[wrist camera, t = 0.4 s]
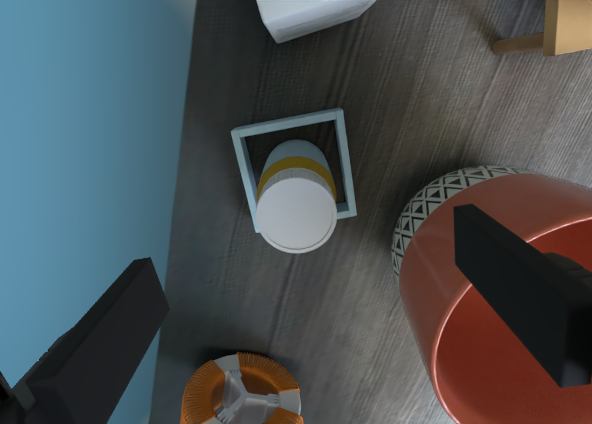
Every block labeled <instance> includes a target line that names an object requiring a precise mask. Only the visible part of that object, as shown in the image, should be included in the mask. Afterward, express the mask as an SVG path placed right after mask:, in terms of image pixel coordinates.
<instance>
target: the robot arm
mask: <svg viewBox="0 0 592 424" xmlns="http://www.w3.org/2000/svg"><path fill="white" fill-rule="evenodd" d="M453 211H454V248H455V265H456V266H457V267H458V268H459V270H460V271H461V272H462V273H463V274H464V275H465V277H466V278H467V279H468V280H469V281H470V283H471V284H472V285H473V286H474V287H475V288H476V290H477V291H478V292H479V293H480V294H481V295H482V297H483V298H484V299H485V300H486V301H487V303H488V304H489V305H490V306H491V307H492V308H493V310H494V311H495V312H496V313H497V314H498V315H499V317H500V318H501V319H502V320H503V321H504V322H505V324H506V325H507V326H508V327H509V328H510V330H511V331H512V332H513V333H514V334H515V335H516V337H517V338H518V339H519V340H520V341H521V342H522V344H523V345H524V346H525V347H526V348H527V349H528V351H529V352H530V353H531V354H532V355H533V357H534V358H535V359H536V360H537V361H538V362H539V364H540V365H541V366H542V367H543V368H544V369H545V371H546V372H547V373H548V374H549V375H550V376H551V378H552V379H553V380H554V381H555V382H556V384H557V385H558V386H559V387H560V388H565V387H573V386H581V385H588V384H591V377H592V272H590V271H589V270H587V269H584V268H583V266H581V265H580V264H578V263H577V262H575V261H574V260H572V259H571V258H568V257H565V256H563V255H560V254H557V253H554V252H547V253H541V252H540V251H538V250H537V249H536V248H534V247H533V246H531V245H530V244H529V243H527V242H526V241H524V240H523V239H522V238H520V237H519V236H517V235H516V234H515V233H513V232H512V231H510V230H509V229H507V228H506V227H505V226H503V225H502V224H500V223H499V222H498V221H496V220H495V219H493V218H492V217H491V216H489V215H488V214H486V213H485V212H484V211H482V210H481V209H479V208H478V207H477V206H475V205H474V204H466V205H460V206H454V207H453ZM169 310H170V308H169V305H168V303H167V300H166V297H165V295H164V292H163V289H162V287H161V284H160V281H159V279H158V276H157V273H156V271H155V268H154V265H153V263H152V260H151V258H150V257H149V258H143V259H138V260H134V261H133V262H132V263H131V264H130V265H129V266H128V267H127V268H126V270H125V271H124V272H123V273H122V274H121V275H120V276H119V277H118V278H117V280H116V281H115V282H114V283H113V284H112V285H111V286H110V287H109V288H108V289H107V291H106V292H105V293H104V294H103V295H102V296H101V297H100V299H98V301H97V302H96V303H95V304H94V305H93V306H92V307H91V308H90V310H89V311H88V312H87V313H86V314H85V315H84V316H83V317H82V318H81V320H80V321H79V322H78V323H77V324H76V325H75V326H74V327H73V328H71V329H70V330H69V331H67V332H66V333H65V334H63V335H62V336H61V337H59V338H58V339H57V340H56V341H55V342H54V344H53V345H52V346H51V347H50V348H49V349H48V352H45V353H44V354H43V356H42V357H41V358H40V359H39V361H38V362H36V363H35V364H34V365H33V366H32V367H31V369H30V370H29V371H28V372H27V373H26V374H25V375H24V376H23V377H22V378H21V379H20V380H19V382H18V383H17V384H16V385H15V386H14V387H13V388H12V389H11V388H10V386H9V384H8V383H7V381H6V380H5V378H4V377H3V375H2V373H1V372H0V424H107V422H108V420H109V418H110V416H111V415H112V413H113V411H114V409H115V407H116V405H117V404H118V402H119V400H120V398H121V396H122V395H123V393H124V391H125V389H126V387H127V386H128V384H129V382H130V380H131V378H132V377H133V375H134V373H135V371H136V369H137V367H138V366H139V364H140V362H141V360H142V358H143V357H144V355H145V353H146V351H147V349H148V347H149V346H150V344H151V342H152V340H153V338H154V337H155V335H156V333H157V331H158V329H159V328H160V326H161V324H162V322H163V320H164V319H165V317H166V315H167V313H168V311H169Z"/></svg>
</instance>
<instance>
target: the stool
mask: <svg viewBox="0 0 592 424" xmlns="http://www.w3.org/2000/svg"><path fill="white" fill-rule="evenodd" d="M591 48H592V0H546V7H545V24H544V32H541V33H535V34H530V35H524V36H519V37H514V38H508V39H503V40H499V41H497V42H496V43H495V44H494V46H493V52H494V53H495V54H496V55H504V54H513V53H522V52H531V51H540V50H543V56H555V55H560V54H566V53H571V52H576V51H581V50H586V49H591Z"/></svg>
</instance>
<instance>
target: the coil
mask: <svg viewBox="0 0 592 424" xmlns="http://www.w3.org/2000/svg"><path fill="white" fill-rule="evenodd" d="M208 363H209V364H208ZM299 392H300V389H299V386H298V385H297V383H296V381H295V380H294V378H293V377H292V375H291V374H290V373H289V372H288V371H287V370H286V369H284V367H282V365H279V363H277V362H274V360H271V359H269V358H266V357H264V358H263V355H262V356H261V357H260V355H258V356H257V354H255V356H254V353H253V354H252V355H251V353H249V355H248V352H247V353H246V354H245V352H244V353H243V354H242V352H240V353H239V352H237V353H236V354H235V355H229V356H224V357H222V358H219V359H216V360H214V361H213V360H210V361H208V362H207V363H205V364H204V365H202V366H201V367H200V368H199V369H198V370H197V371H196V372H195V374H193V376H192V377H191V379H190V380H189V382H188V384H187V386H186V388H185V391H184V395H183V401H182V410H181V420H180V424H300V419H301V424H304V422H303V418H302V417H301V416H300V410H301V402H300V395H299ZM222 402H223V406H224V408H225V409H224V410H223V411H222V412H221V413H220V414H219V415H217V414H216V412H215V410H216V409H217V408H218V407H219V406H220V405H221V404H222ZM299 418H300V419H299Z"/></svg>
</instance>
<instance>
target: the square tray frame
mask: <svg viewBox="0 0 592 424" xmlns="http://www.w3.org/2000/svg"><path fill="white" fill-rule="evenodd" d="M329 120H334V124H335V131H336V137H337V144H338V151H339V158H340V165H341V172H342V179H343V186H344V193H345V200H346V202H342V203H336V208H337V219H341V218H347V217H352V216H357V211H356V203H355V196H354V188H353V181H352V174H351V166H350V159H349V151H348V144H347V136H346V129H345V121H344V114H343V110H342V109H341V108H334V109H329V110H323V111H318V112H313V113H308V114H303V115H297V116H292V117H287V118H282V119H277V120H271V121H266V122H261V123H256V124H251V125H246V126H240V127H236V128H234V129H233V130H232V131H231V135H232V139H233V143H234V147H235V151H236V155H237V159H238V163H239V167H240V171H241V175H242V179H243V183H244V187H245V191H246V195H247V199H248V203H249V207H250V211H251V215H252V219H253V223H254V227H255V231H256V233H258V232H260V231H259V228H258V226H257V223H256V207H257V187H256V183H255V179H254V174H253V170H252V166H251V162H250V157H249V153H248V149H247V145H246V141H245V136H251V135H256V134H261V133H266V132H272V131H277V130H282V129H287V128H293V127H298V126H303V125H308V124H314V123H319V122H324V121H329Z"/></svg>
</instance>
